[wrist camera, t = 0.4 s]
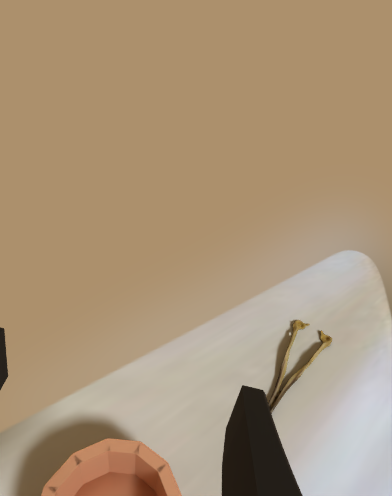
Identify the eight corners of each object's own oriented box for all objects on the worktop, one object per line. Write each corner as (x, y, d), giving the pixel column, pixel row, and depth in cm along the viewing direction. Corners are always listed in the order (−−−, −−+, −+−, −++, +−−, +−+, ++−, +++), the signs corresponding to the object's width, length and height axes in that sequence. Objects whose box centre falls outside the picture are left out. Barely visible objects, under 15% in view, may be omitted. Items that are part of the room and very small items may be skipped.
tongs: (248, 417, 32) (254, 404, 30) (292, 325, 41) (298, 313, 40) (294, 444, 30) (302, 432, 29) (329, 343, 40) (335, 331, 39)
